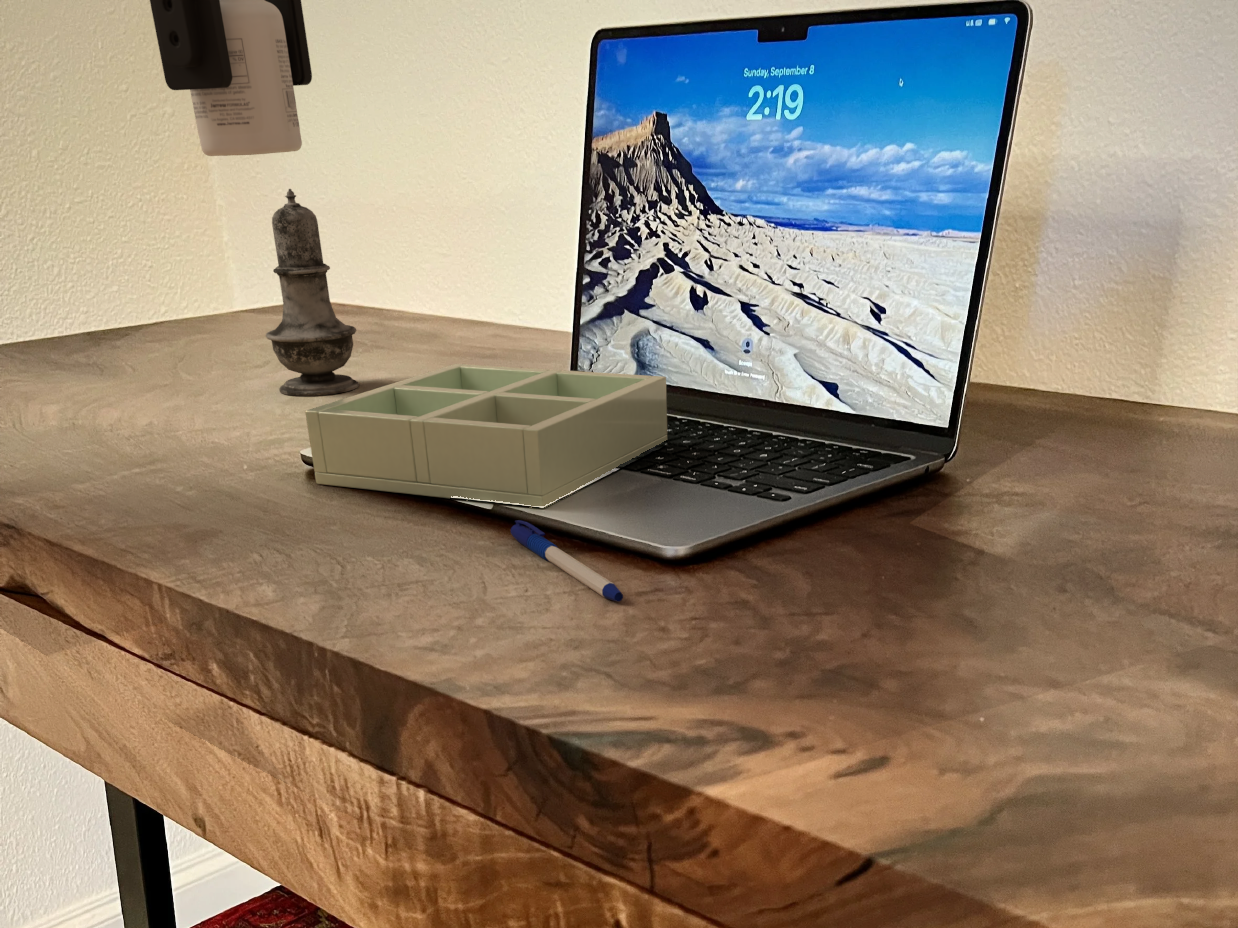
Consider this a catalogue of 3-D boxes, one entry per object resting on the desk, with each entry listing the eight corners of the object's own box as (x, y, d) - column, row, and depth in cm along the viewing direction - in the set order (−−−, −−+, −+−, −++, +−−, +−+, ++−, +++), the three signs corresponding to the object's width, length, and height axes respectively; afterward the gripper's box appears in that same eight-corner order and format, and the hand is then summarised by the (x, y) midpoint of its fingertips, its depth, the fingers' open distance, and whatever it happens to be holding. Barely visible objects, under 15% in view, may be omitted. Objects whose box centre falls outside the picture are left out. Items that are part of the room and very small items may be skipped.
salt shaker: (381, 383, 91) (356, 185, 85) (319, 399, 87) (288, 192, 81) (319, 377, 94) (290, 185, 88) (256, 392, 90) (221, 191, 83)
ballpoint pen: (504, 539, 59) (502, 517, 58) (522, 537, 59) (521, 514, 59) (612, 607, 51) (611, 581, 50) (633, 603, 51) (632, 578, 51)
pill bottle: (270, 150, 62) (238, -51, 58) (322, 150, 60) (291, -61, 56) (184, 156, 60) (143, -54, 56) (233, 156, 57) (195, -64, 53)
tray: (315, 484, 68) (304, 410, 66) (462, 428, 78) (455, 363, 76) (543, 509, 63) (537, 430, 61) (668, 445, 73) (666, 376, 71)
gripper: (224, -409, 57) (298, 86, 66) (-127, -543, 44) (26, 96, 53) (366, -444, 54) (423, 80, 63) (34, -598, 41) (167, 88, 50)
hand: (241, 82), depth 58 cm, fingers closed on pill bottle, 4 cm apart
